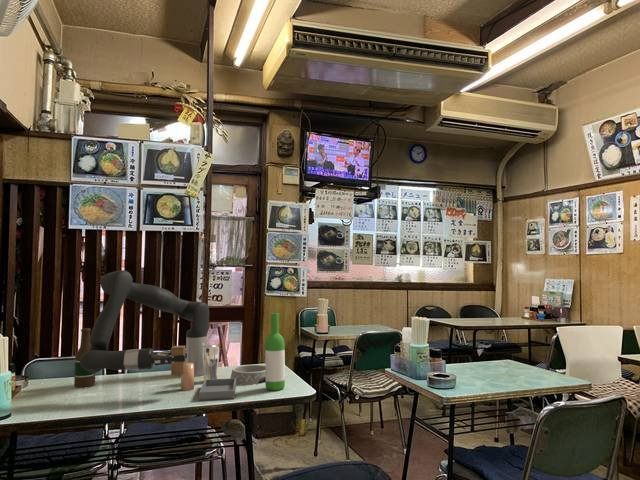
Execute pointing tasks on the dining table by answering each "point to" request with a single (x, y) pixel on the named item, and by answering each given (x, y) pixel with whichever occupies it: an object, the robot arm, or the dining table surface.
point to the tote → (217, 389)
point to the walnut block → (178, 367)
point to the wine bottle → (274, 357)
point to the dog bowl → (248, 374)
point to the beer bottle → (81, 375)
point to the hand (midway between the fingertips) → (185, 357)
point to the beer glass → (210, 361)
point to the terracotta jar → (188, 377)
